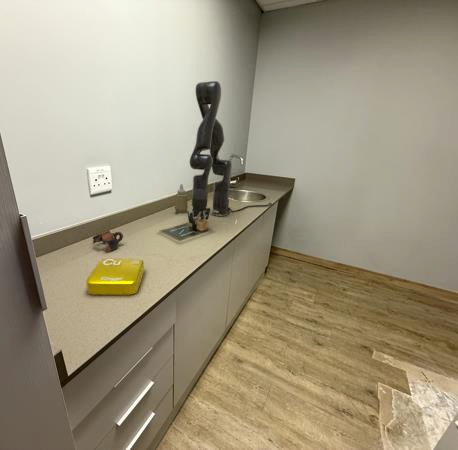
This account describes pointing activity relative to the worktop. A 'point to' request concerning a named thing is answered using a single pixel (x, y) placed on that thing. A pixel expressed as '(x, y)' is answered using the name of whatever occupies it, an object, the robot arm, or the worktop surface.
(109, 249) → the brown teapot
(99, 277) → the element tile
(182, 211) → the squeeze bottle
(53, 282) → the worktop surface
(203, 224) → the eraser
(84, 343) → the worktop surface
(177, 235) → the chalkboard
